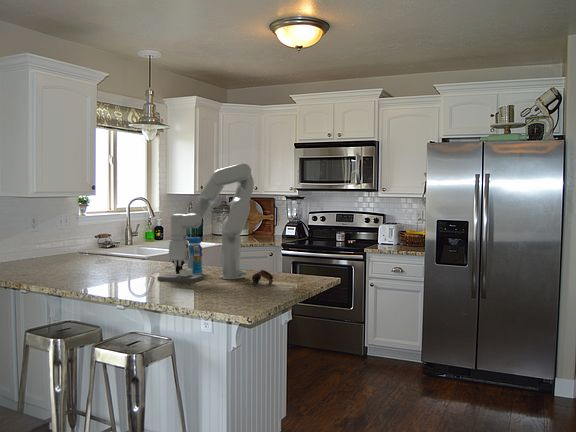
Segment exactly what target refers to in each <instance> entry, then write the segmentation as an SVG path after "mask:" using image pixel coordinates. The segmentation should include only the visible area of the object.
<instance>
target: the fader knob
mask: <svg viewBox="0 0 576 432" xmlns="http://www.w3.org/2000/svg"><path fill="white" fill-rule="evenodd" d="M190 275H192V269H190V268H188V267H187V268H182V270H180V276H185V277H187V276H190Z"/></svg>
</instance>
